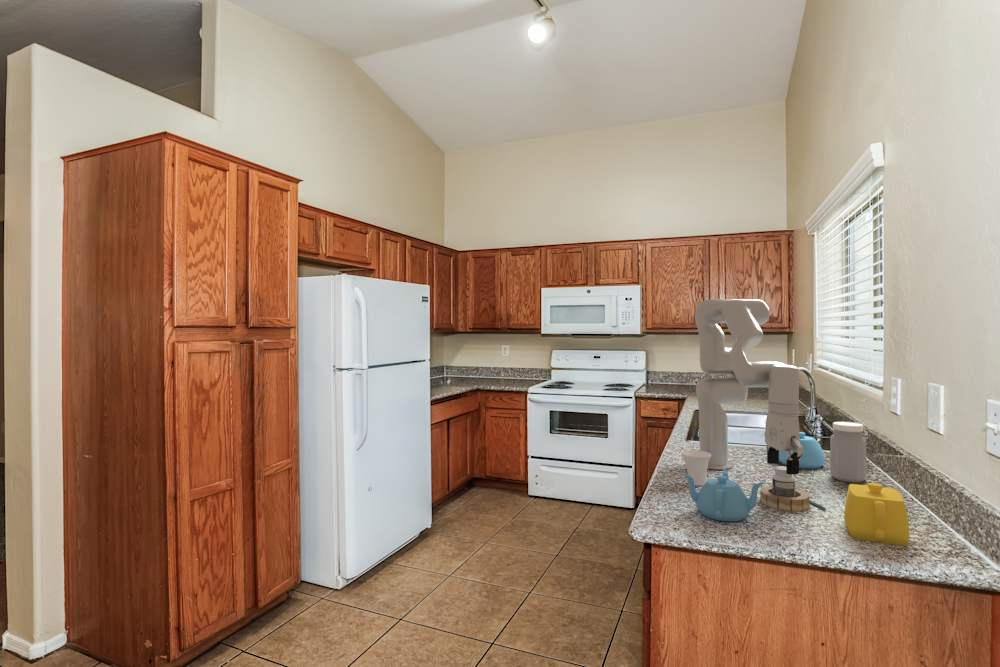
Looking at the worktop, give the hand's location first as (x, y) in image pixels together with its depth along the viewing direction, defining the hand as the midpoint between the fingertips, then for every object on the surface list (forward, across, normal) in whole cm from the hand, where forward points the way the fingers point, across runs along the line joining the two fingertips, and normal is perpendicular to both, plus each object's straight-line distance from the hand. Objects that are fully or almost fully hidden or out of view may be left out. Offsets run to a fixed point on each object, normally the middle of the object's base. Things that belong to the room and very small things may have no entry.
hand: (782, 468), depth 148 cm
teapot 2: (+9, +22, +10) cm, 26 cm away
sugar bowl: (+11, -40, +30) cm, 51 cm away
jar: (+10, -21, +34) cm, 41 cm away
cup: (+10, -19, -17) cm, 27 cm away
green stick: (+10, +1, +8) cm, 12 cm away
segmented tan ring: (+10, +1, 0) cm, 10 cm away
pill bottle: (+10, +1, 0) cm, 10 cm away
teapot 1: (+10, +8, -21) cm, 24 cm away
